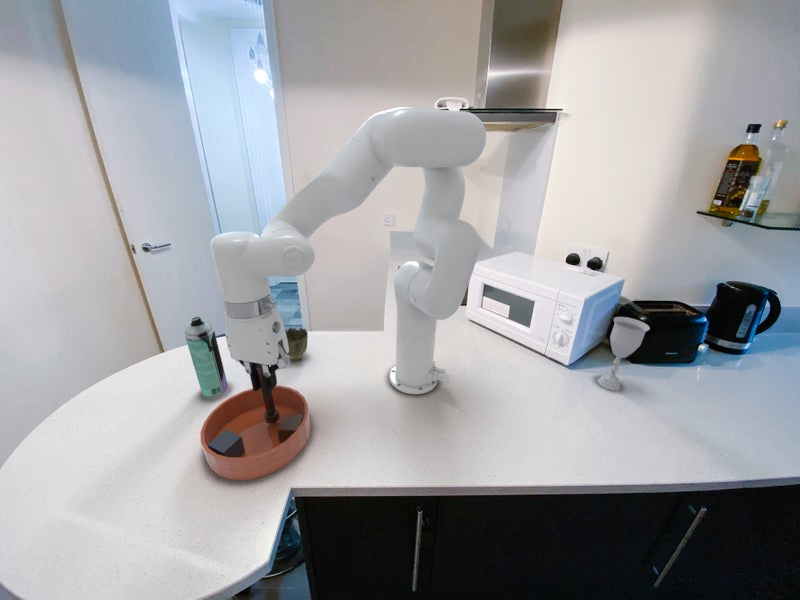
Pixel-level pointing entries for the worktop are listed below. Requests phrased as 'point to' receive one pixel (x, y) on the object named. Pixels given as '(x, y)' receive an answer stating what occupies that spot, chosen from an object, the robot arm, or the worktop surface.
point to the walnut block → (288, 426)
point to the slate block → (228, 445)
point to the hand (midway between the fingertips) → (265, 387)
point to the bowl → (255, 433)
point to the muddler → (267, 400)
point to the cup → (296, 343)
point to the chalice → (623, 346)
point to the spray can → (206, 358)
